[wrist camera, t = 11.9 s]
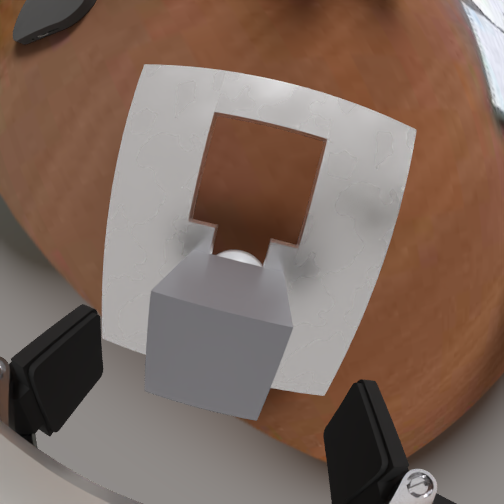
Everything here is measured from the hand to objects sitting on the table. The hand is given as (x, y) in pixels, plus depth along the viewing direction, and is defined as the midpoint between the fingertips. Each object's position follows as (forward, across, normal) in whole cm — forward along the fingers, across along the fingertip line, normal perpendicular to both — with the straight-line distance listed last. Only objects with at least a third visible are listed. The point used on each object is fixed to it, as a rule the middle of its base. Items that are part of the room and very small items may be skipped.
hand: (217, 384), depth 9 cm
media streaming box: (+15, +32, -28) cm, 45 cm away
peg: (+10, +1, 0) cm, 11 cm away
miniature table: (+15, +1, -3) cm, 15 cm away
